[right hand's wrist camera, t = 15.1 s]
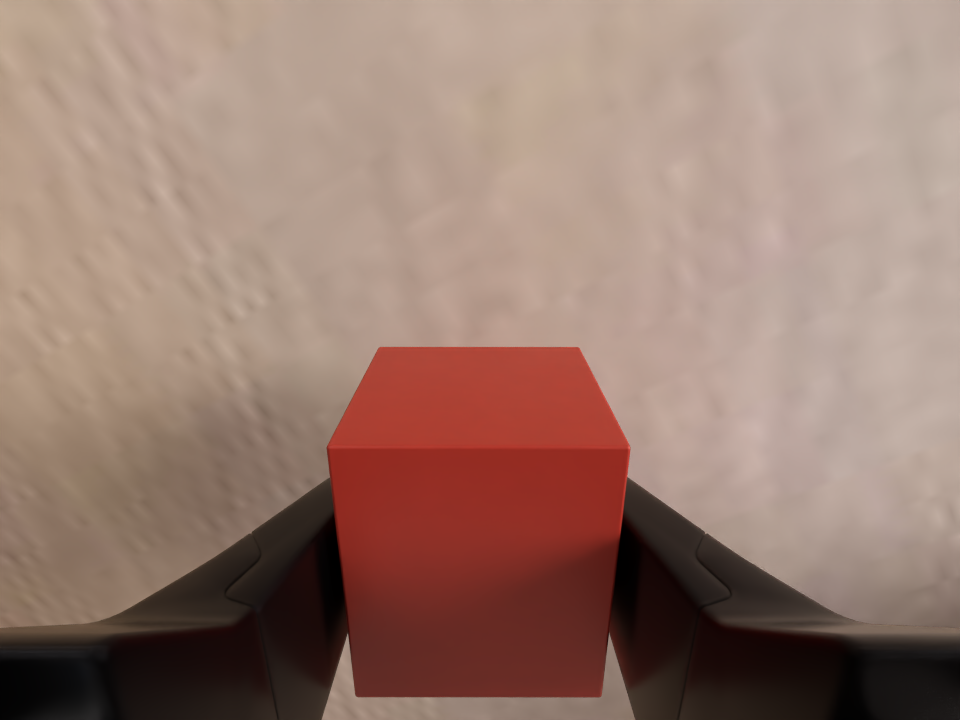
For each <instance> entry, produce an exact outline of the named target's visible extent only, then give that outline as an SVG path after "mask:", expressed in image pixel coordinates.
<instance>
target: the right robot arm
mask: <svg viewBox="0 0 960 720" xmlns="http://www.w3.org/2000/svg"><path fill="white" fill-rule="evenodd" d="M609 633H610V636H611V640H612V643H613V646H614V650H615V653H616V656H617V660H618V663H619V666H620V670H621V673H622V676H623V680H624V683H625V686H626V690H627V693H628V696H629V700H630V703H631V706H632V710H633V713H634V716H635V720H960V628H947V627H925V626H904V625H882V624H868V623H863V622H858V621H855V620H852V619H849V618H846V617H843V616H841V615H839V614H836V613H834V612H833V611H831V610H829V609H827V608H825V607H824V606H822V605H820V604H819V603H817V602H815V601H813V600H812V599H810V598H808V597H807V596H805V595H803V594H802V593H800V592H798V591H797V590H795V589H793V588H792V587H790V586H788V585H787V584H785V583H783V582H782V581H780V580H778V579H776V578H775V577H773V576H771V575H770V574H768V573H766V572H765V571H763V570H762V569H760V568H758V567H757V566H755V565H753V564H752V563H750V562H749V561H747V560H745V559H744V558H742V557H741V556H739V555H738V554H736V553H735V552H733V551H732V550H730V549H729V548H727V547H726V546H724V545H723V544H721V543H720V542H718V541H717V540H716V539H714V538H713V537H711V536H710V535H709V534H705V532H704V531H703V530H701V529H700V528H699V527H697V526H696V525H694V524H693V523H691V522H690V521H689V520H687V519H686V518H684V517H683V516H682V515H680V514H679V513H677V512H676V511H674V510H673V509H672V508H670V507H669V506H667V505H666V504H665V503H663V502H662V501H660V500H659V499H658V498H656V497H655V496H653V495H652V494H650V493H649V492H648V491H646V490H645V489H643V488H642V487H641V486H639V485H638V484H636V483H635V482H634V481H632V480H631V479H629V478H628V477H627V482H626V491H625V499H624V508H623V516H622V525H621V534H620V542H619V551H618V559H617V568H616V577H615V585H614V594H613V602H612V611H611V619H610V628H609ZM347 634H348V627H347V618H346V610H345V601H344V593H343V584H342V575H341V567H340V558H339V550H338V541H337V532H336V524H335V515H334V507H333V498H332V489H331V481H330V478H328V479H327V480H325V481H324V482H322V483H321V484H320V485H318V486H317V487H315V488H314V489H312V490H311V491H310V492H308V493H307V494H305V495H304V496H302V497H301V498H300V499H298V500H297V501H295V502H294V503H293V504H291V505H290V506H288V507H287V508H285V509H284V510H283V511H281V512H280V513H278V514H277V515H275V516H274V517H273V518H271V519H270V520H268V521H267V522H265V523H264V524H263V525H261V526H260V527H258V528H257V529H255V530H254V531H253V532H252V534H248V535H247V536H245V537H244V538H242V539H241V540H240V541H238V542H237V543H235V544H234V545H232V546H231V547H229V548H228V549H226V550H225V551H223V552H222V553H220V554H219V555H217V556H216V557H214V558H213V559H211V560H210V561H208V562H206V563H205V564H203V565H201V566H200V567H198V568H197V569H195V570H193V571H192V572H190V573H188V574H187V575H185V576H183V577H181V578H180V579H178V580H176V581H175V582H173V583H171V584H170V585H168V586H166V587H165V588H163V589H161V590H159V591H158V592H156V593H154V594H153V595H151V596H149V597H148V598H146V599H144V600H143V601H141V602H139V603H137V604H136V605H134V606H132V607H131V608H129V609H127V610H125V611H123V612H121V613H119V614H117V615H115V616H112V617H110V618H107V619H104V620H101V621H98V622H93V623H88V624H73V625H52V626H30V627H8V628H0V720H321V719H322V716H323V713H324V710H325V706H326V703H327V700H328V696H329V693H330V690H331V687H332V683H333V680H334V677H335V673H336V670H337V667H338V663H339V660H340V657H341V654H342V650H343V647H344V644H345V640H346V637H347Z"/></svg>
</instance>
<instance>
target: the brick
mask: <svg viewBox="0 0 960 720" xmlns="http://www.w3.org/2000/svg"><path fill="white" fill-rule="evenodd" d="M327 455H328V464H329V472H330V481H331V489H332V498H333V507H334V515H335V524H336V532H337V541H338V550H339V558H340V567H341V575H342V584H343V593H344V601H345V610H346V618H347V627H348V636H349V644H350V653H351V661H352V670H353V679H354V687H355V695H356V696H357V697H601V695H602V688H603V679H604V671H605V662H606V654H607V645H608V637H609V628H610V619H611V611H612V602H613V594H614V585H615V577H616V568H617V559H618V551H619V542H620V534H621V525H622V516H623V508H624V499H625V491H626V482H627V474H628V465H629V456H630V445H629V443H628V441H627V439H626V438H625V436H624V434H623V432H622V430H621V428H620V426H619V424H618V422H617V420H616V418H615V416H614V414H613V412H612V410H611V408H610V407H609V405H608V403H607V401H606V399H605V397H604V395H603V393H602V391H601V389H600V387H599V385H598V383H597V381H596V379H595V377H594V375H593V374H592V372H591V370H590V368H589V366H588V364H587V362H586V360H585V358H584V356H583V354H582V352H581V350H580V348H578V347H380V348H378V350H377V352H376V354H375V356H374V358H373V360H372V362H371V364H370V365H369V367H368V369H367V371H366V373H365V375H364V377H363V379H362V381H361V383H360V384H359V386H358V388H357V390H356V392H355V394H354V396H353V398H352V400H351V402H350V403H349V405H348V407H347V409H346V411H345V413H344V415H343V417H342V419H341V421H340V422H339V424H338V426H337V428H336V430H335V432H334V434H333V436H332V438H331V440H330V442H329V443H328V445H327Z"/></svg>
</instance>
